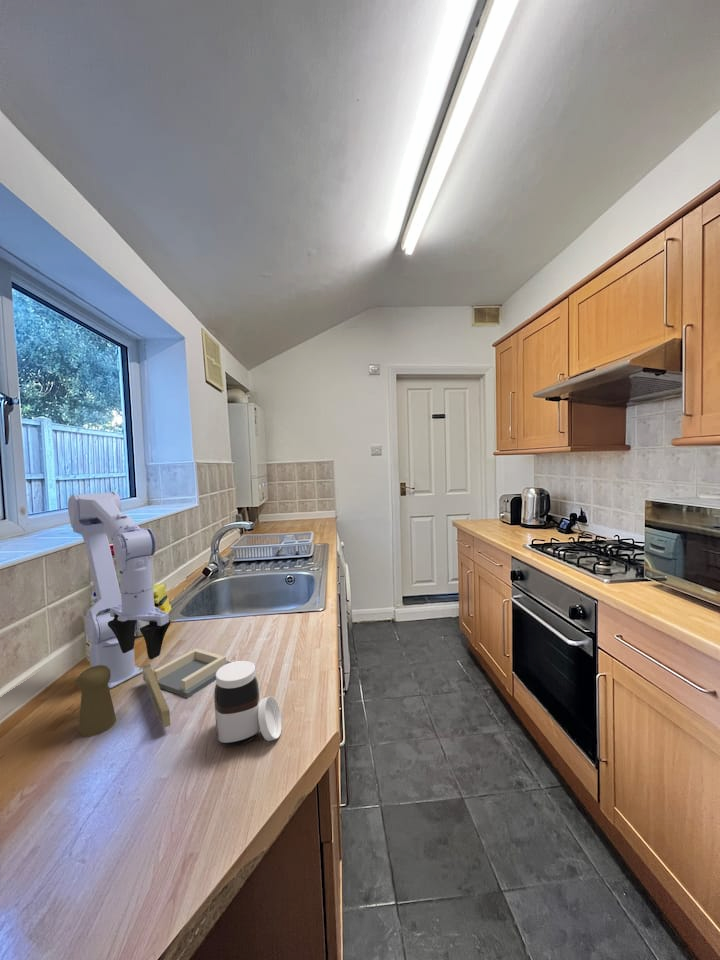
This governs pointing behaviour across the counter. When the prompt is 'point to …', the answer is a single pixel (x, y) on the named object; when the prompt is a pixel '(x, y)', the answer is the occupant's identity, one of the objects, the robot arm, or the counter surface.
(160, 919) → the counter surface
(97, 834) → the counter surface
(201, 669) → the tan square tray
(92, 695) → the brown rounded piece
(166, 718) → the bar
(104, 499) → the robot arm
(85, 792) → the counter surface
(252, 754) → the counter surface
